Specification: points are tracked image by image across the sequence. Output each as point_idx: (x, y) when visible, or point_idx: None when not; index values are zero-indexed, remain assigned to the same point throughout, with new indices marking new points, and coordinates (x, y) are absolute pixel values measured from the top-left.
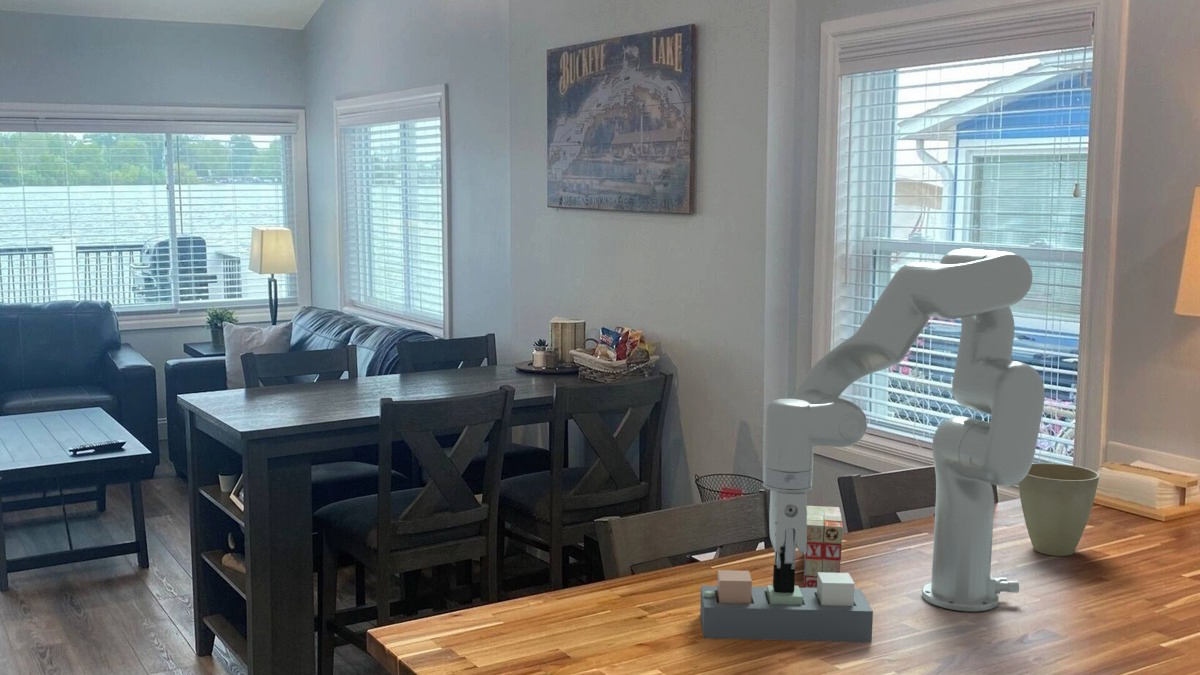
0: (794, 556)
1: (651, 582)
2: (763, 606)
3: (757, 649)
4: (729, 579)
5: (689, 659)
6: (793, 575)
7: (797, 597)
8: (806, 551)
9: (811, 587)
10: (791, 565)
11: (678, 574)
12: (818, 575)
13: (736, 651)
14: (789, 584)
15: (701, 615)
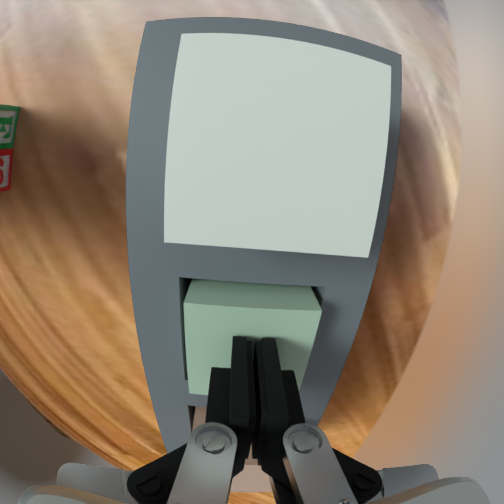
0: (350, 490)
1: (65, 418)
2: (315, 394)
3: (357, 351)
4: (269, 485)
5: (361, 422)
6: (283, 394)
7: (315, 325)
8: (474, 483)
9: (3, 173)
10: (346, 455)
11: (24, 382)
12: (207, 243)
13: (355, 379)
14: (295, 380)
15: None
